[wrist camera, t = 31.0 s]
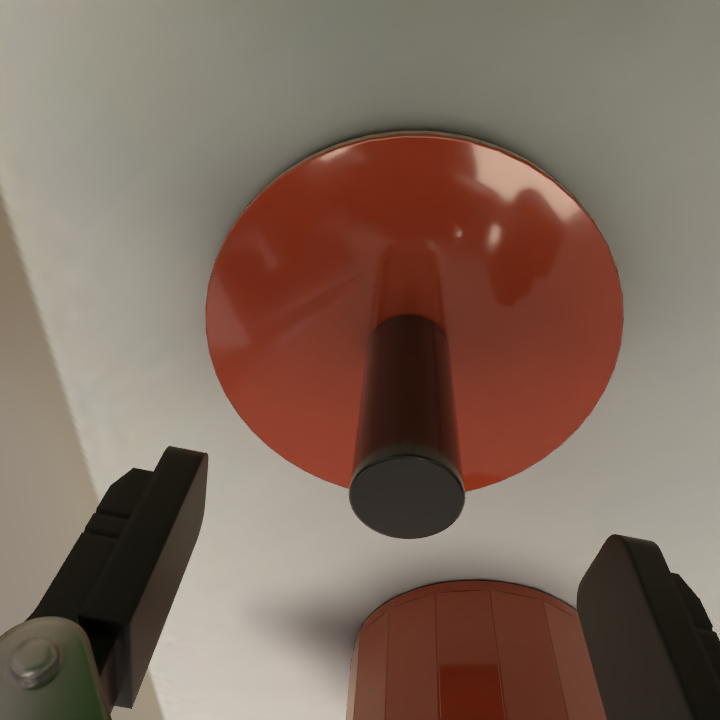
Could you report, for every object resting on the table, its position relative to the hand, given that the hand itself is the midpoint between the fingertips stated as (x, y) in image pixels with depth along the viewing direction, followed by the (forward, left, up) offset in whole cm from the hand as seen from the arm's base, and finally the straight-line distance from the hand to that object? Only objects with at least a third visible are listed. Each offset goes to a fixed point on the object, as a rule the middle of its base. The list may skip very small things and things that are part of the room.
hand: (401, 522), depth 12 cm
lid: (0, 0, -7) cm, 7 cm away
